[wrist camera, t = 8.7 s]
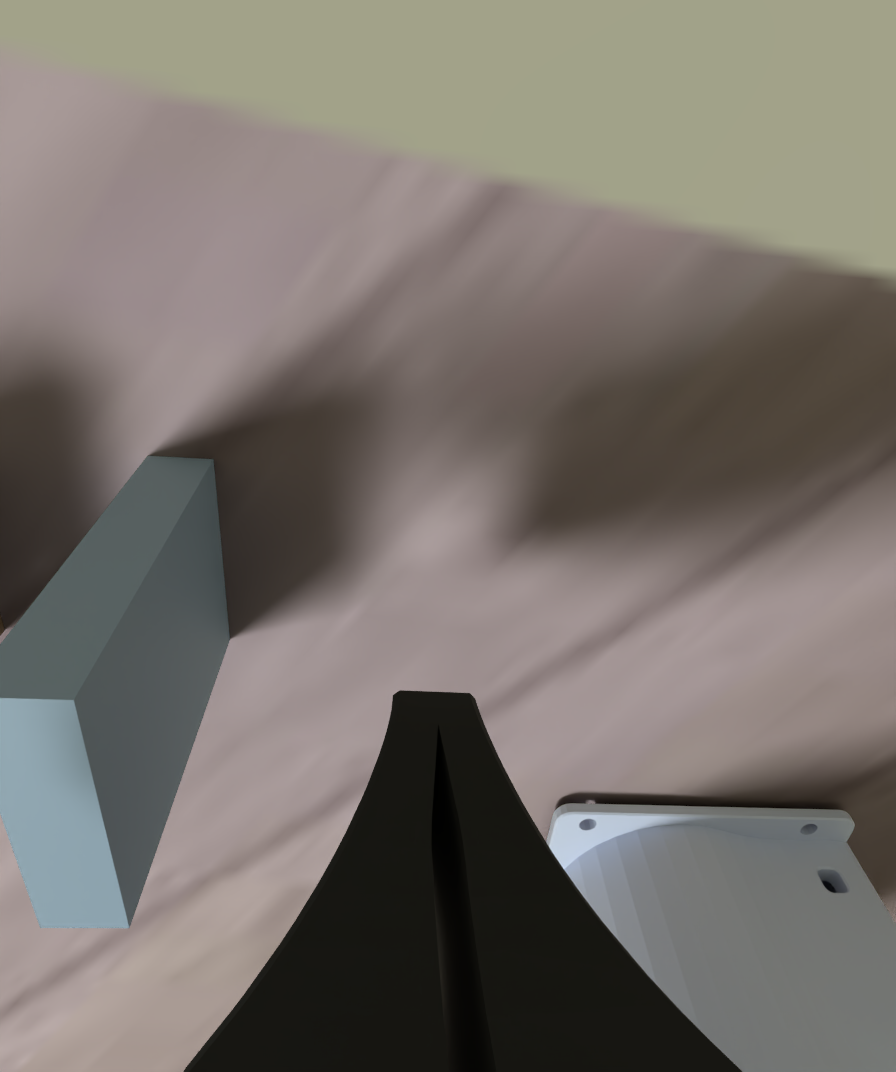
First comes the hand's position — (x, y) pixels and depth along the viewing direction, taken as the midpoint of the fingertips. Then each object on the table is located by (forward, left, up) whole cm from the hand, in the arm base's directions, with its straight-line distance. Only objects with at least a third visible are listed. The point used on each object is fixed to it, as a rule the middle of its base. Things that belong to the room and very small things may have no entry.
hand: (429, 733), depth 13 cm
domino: (+5, 0, -6) cm, 8 cm away
